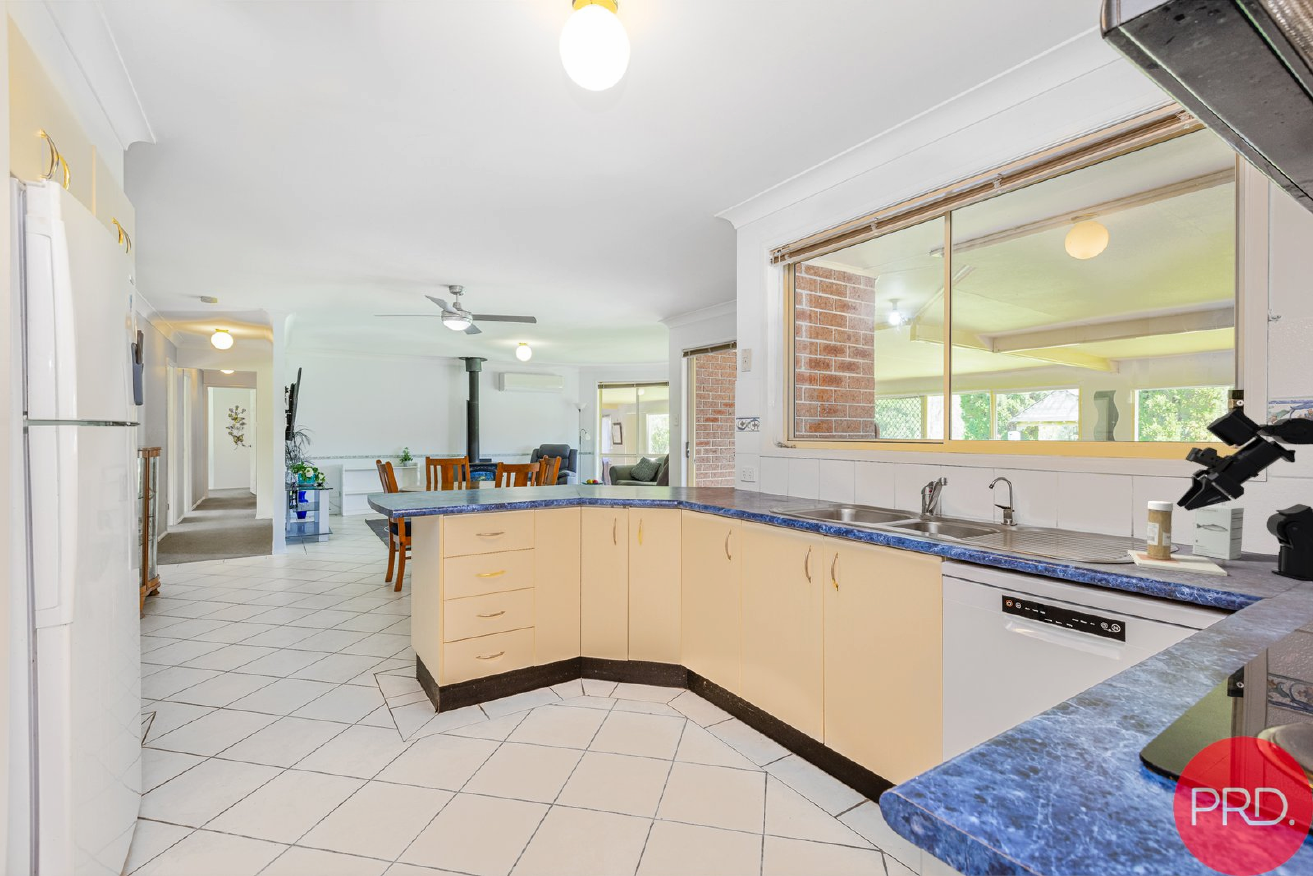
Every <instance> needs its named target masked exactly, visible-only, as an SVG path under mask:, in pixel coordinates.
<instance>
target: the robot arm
mask: <svg viewBox="0 0 1313 876" xmlns="http://www.w3.org/2000/svg"><path fill="white" fill-rule="evenodd" d="M1205 429H1206V430H1207V431H1209V433H1211V434H1212V435H1214V436H1215V437H1216V438H1218V439H1219V440H1220V441H1221V442H1223V443H1224V444H1225V445H1227V447H1232V446H1234V445H1235V446H1236V447H1238V448H1240V447H1241V446H1243V447H1241V448H1240V449H1238V450H1237V451H1236V452H1234V453H1233V454H1229V455H1228V454H1226V455H1225V456H1223V457H1222V456H1220V455H1218V450H1217V449H1216V448H1213V447H1209V446H1207V447H1205V448H1203V449H1202V448H1198V447H1194V446H1193V447H1191V449H1190V451H1189V453H1188V454H1187V456H1186V457H1185V460H1186V461H1189V462H1190V463H1195V464H1198V465H1201V466H1203V467H1206V469H1204V468H1203V469H1198V470H1197V471H1194V472H1193V473H1192V476H1191V486H1190V487H1189V488H1188V490H1187V491H1186V492H1185V493H1184V494H1183V496H1181V497H1180V499H1178V501H1177V502H1176V505H1177V506H1178V507H1180V508H1181V507H1183V508H1184V509H1185V511H1188V512H1190V511H1193V510H1194V511H1195V509H1197V508H1201V507H1205V506H1209V505H1219V504H1221V503H1225V502H1231V501H1232V499H1233V500H1237V499H1239V498H1240V497H1242V496H1243V495H1245V487H1243V484H1244V483H1246V482H1247V481H1249V480H1250V479H1252V478H1254V479H1255V478H1257V477H1258V476H1260V474H1259V473H1261V472H1262V471H1264V470H1266V469H1267V468H1268V467H1270V466H1272V464H1274V463H1275V462H1277V461H1278V460H1280V459H1282V461H1284V462H1286V463H1292V464H1293V463H1296V456H1295V454H1296V450H1295V449H1287V448H1285V447H1284V446H1282V445H1281V444H1283V445H1300V446H1301V445H1313V419H1309V418H1304V417H1288V418H1285V417H1284V418H1280V419H1278V420H1277V421H1275V422H1274V423H1272V424H1268V423H1265V424H1264V423H1262V424H1261V423H1259V424H1257V422H1255V421H1253V420H1252V419H1251V418H1250V417H1248V416H1247V415H1246V414H1245V413H1244V412H1243V411H1242V410H1240V409H1239V408H1234V409H1232V410H1231V411H1229V412H1227V413H1226V414H1224V415H1222V416H1221V417H1218V418H1216V419H1215V420H1213V421H1212V422H1211V423H1210V424H1209V425H1208V426H1207V427H1206V428H1205ZM1264 437H1269V438H1272V439H1273V440H1271V441H1269V440H1267V439H1265V438H1264ZM1245 444H1246V445H1245ZM1275 512H1277V513H1274V514H1272V515H1270V516H1269V517H1268V519H1267V521H1266V529H1267V531H1268V532H1269V533H1270V535H1273V536H1274V537H1276V539H1277V541H1278V543H1279V551H1278V557H1277V558H1278V560H1277V570H1275V569H1272V570H1270V571H1271V573H1272V574H1275V575H1276V574H1277V575H1280V576H1283V577H1288V578H1292V579H1295V580H1302V581H1313V508H1312V506H1310V505H1306V504H1303V503H1302V504H1301V503H1297V504H1295V505H1292V506H1290V507H1287V508H1284V509H1276V510H1275Z"/></svg>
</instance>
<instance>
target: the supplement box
mask: <svg viewBox="0 0 1313 876" xmlns="http://www.w3.org/2000/svg"><path fill="white" fill-rule="evenodd" d="M1244 512H1245V508H1244V507H1238V506H1231V505H1230V506H1229V505H1221V504H1220V505H1219V504H1214V505H1209V506H1205V507H1201V508H1197V509H1194V520H1193V521H1194V522H1193V539H1192V555H1197V556H1202V557H1208V558H1209V557H1211V558H1214V559H1215V558H1217V559H1222V560H1226V561H1231V560H1236V559H1240V558H1241V557H1242V547H1243V546H1242V542H1243V525H1244V524H1243V523H1244Z"/></svg>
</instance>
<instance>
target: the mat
mask: <svg viewBox="0 0 1313 876" xmlns="http://www.w3.org/2000/svg"><path fill="white" fill-rule="evenodd" d="M1127 554H1128V555H1129V554H1130V555H1131V556H1132V558H1133V559H1132V558H1131V559H1132V561H1133V560H1134V561H1133V562H1134V563H1135V564H1136V565H1137V567H1140V568H1148V569H1157V570H1167V571H1174V572H1175V571H1176V572H1185V573H1195V574H1204V575H1213V576H1220V577H1228V572H1227V571H1226V570H1225V569H1223V568H1222V567H1221V566H1219V565H1217V564H1216V563H1215V562H1213V561H1212V560H1211V559H1209V557H1206V556H1193V555H1184V554H1183V555H1181V554H1172V553H1171V559H1170V560H1158V559H1152V558H1149V557H1147V551H1143V550H1134V549H1127ZM1130 555H1129V556H1130Z"/></svg>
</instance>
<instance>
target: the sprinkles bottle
mask: <svg viewBox="0 0 1313 876" xmlns="http://www.w3.org/2000/svg"><path fill="white" fill-rule="evenodd" d="M1147 509H1148V510H1147V512H1148V514H1147V515H1148V517H1147V519H1148V521H1147V535H1146V537H1147V539H1146V540H1147V543H1146V544H1147V545H1146V546H1147V547H1146V548H1147V551H1146V552H1147V557H1149V558H1152V559H1158V560H1170V559H1171V554H1172V553H1171V550H1172V549H1171V547H1172V530H1173V529H1172V515H1173V514H1172V513H1173V511H1174V503H1173V502H1171V501H1165V500H1164V501H1161V500H1149V501H1148V502H1147Z"/></svg>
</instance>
